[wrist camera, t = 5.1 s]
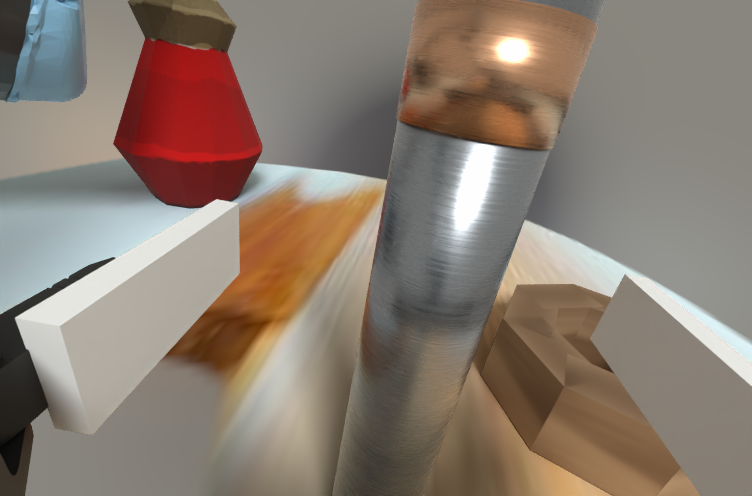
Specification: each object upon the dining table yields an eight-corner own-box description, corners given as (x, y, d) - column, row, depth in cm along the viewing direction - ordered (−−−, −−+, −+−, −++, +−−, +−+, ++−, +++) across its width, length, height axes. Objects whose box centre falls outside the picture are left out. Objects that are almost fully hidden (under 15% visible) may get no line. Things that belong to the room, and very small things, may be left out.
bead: (455, 337, 25) (473, 284, 23) (585, 330, 29) (609, 283, 27) (582, 528, 15) (632, 462, 13) (759, 479, 18) (819, 422, 16)
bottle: (195, 230, 33) (176, -25, 25) (90, 196, 37) (41, -41, 28) (285, 193, 47) (293, 20, 39) (203, 170, 50) (194, 6, 42)
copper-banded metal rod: (321, 483, 15) (402, -48, 7) (394, 470, 16) (535, -8, 8) (333, 582, 12) (487, -119, 4) (421, 560, 13) (677, -45, 5)
